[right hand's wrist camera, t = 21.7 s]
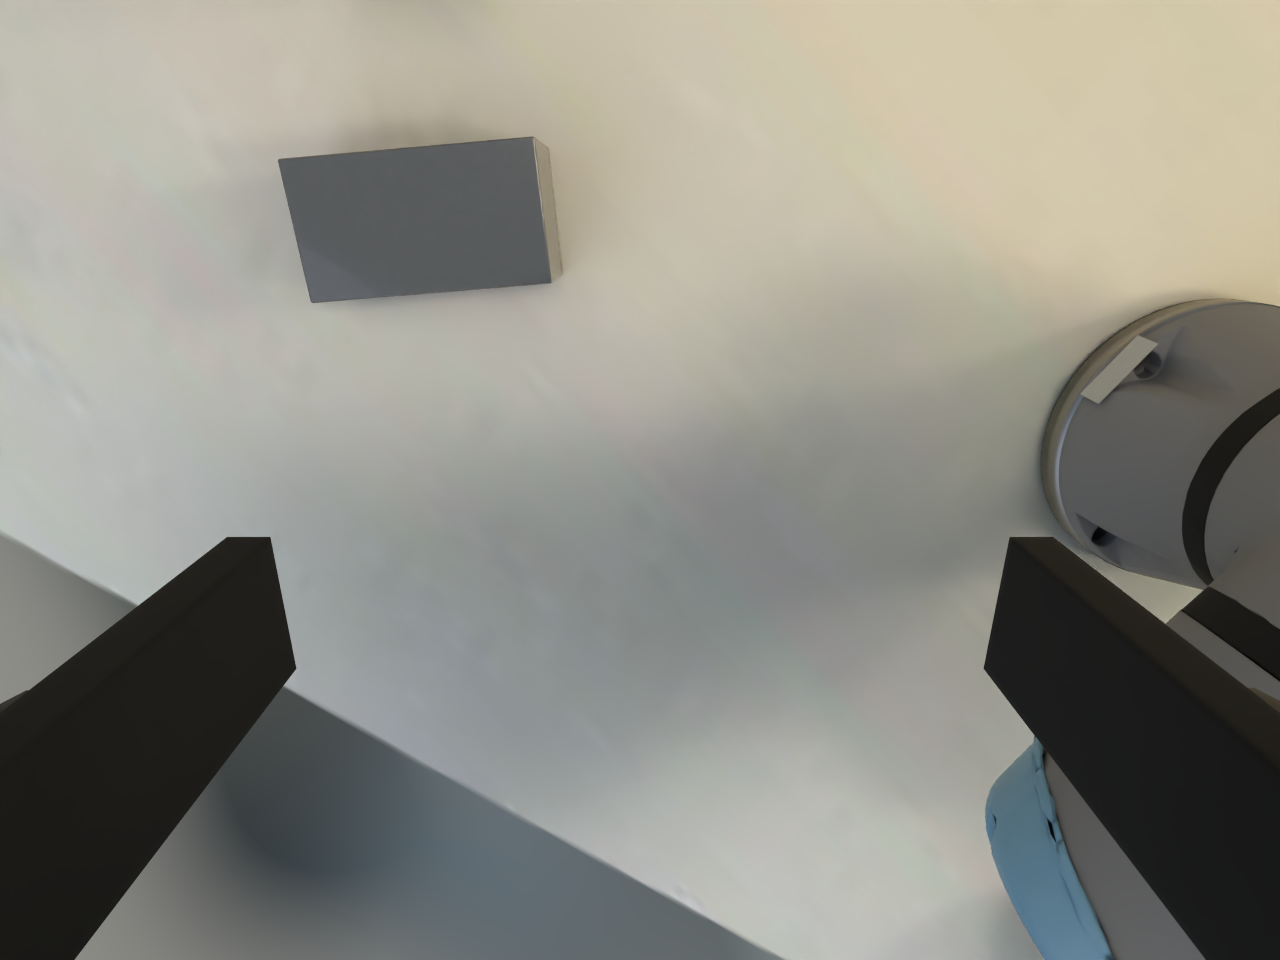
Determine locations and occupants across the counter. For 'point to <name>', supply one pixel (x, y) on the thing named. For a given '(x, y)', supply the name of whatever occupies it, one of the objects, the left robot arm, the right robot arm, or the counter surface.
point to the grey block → (424, 219)
